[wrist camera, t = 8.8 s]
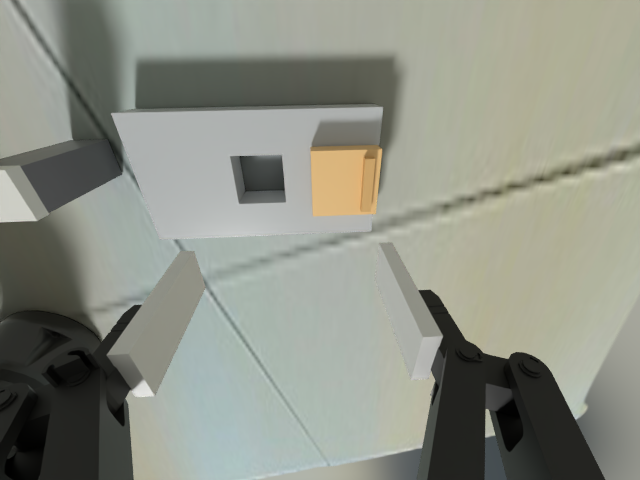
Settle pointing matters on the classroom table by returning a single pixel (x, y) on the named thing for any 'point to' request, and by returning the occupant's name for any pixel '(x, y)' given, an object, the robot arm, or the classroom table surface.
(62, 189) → the plug
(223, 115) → the socket board
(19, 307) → the classroom table surface
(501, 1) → the classroom table surface
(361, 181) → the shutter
